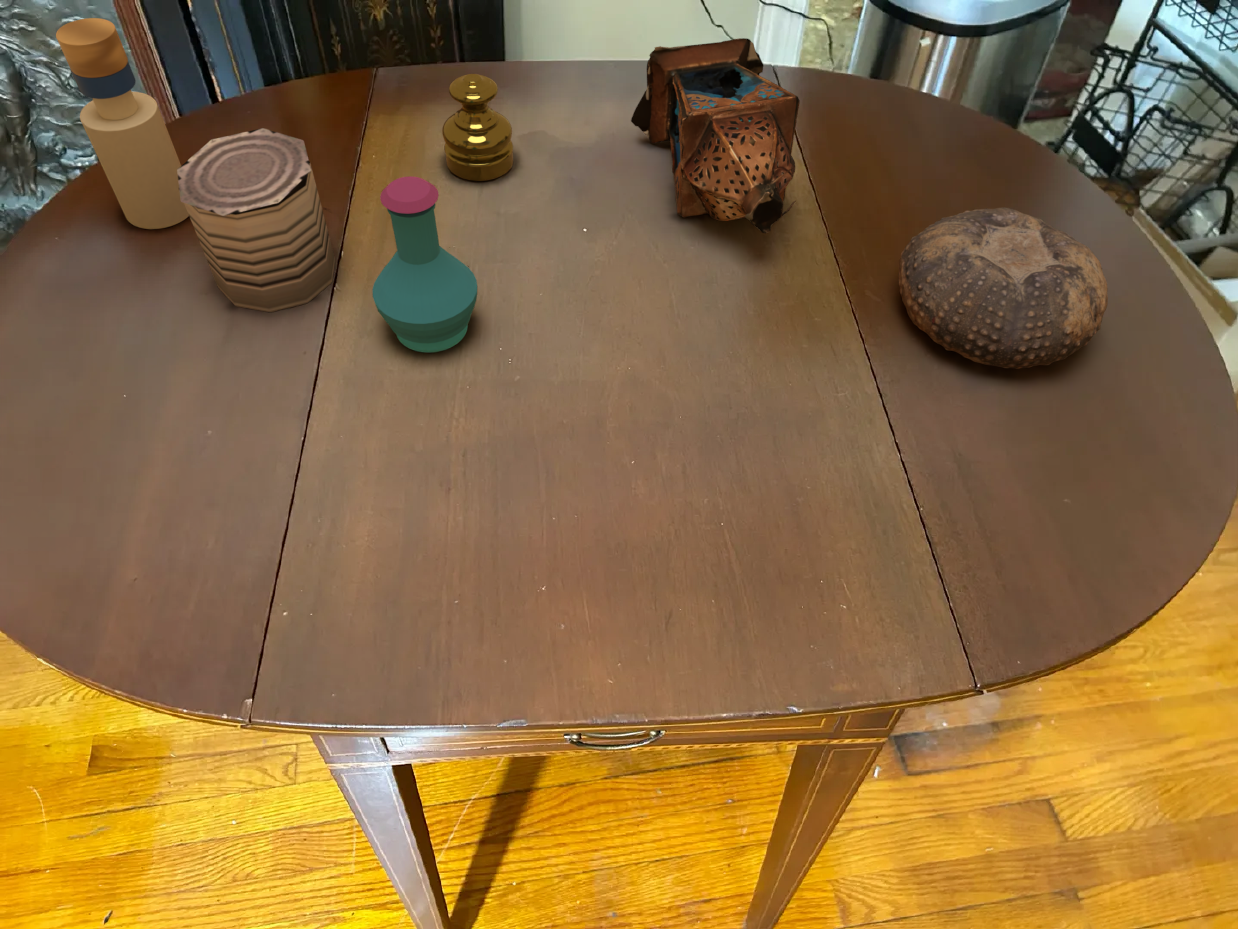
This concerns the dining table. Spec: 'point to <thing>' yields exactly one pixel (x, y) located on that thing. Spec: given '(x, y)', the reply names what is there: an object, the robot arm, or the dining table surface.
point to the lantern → (721, 130)
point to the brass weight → (477, 132)
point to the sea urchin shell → (1002, 288)
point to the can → (259, 219)
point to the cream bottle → (133, 149)
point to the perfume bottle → (422, 274)
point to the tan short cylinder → (92, 47)
